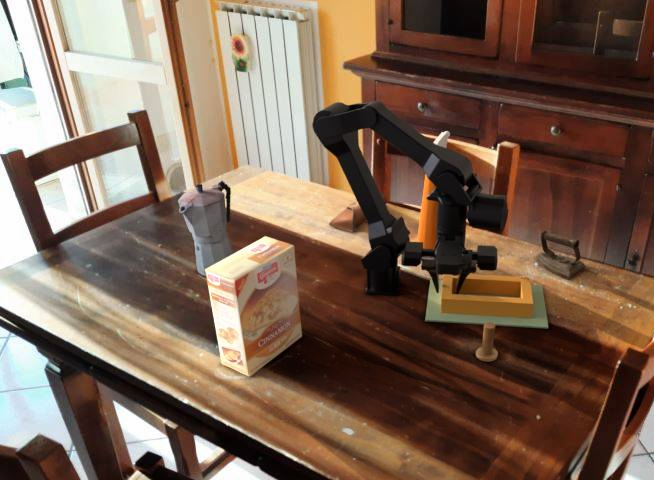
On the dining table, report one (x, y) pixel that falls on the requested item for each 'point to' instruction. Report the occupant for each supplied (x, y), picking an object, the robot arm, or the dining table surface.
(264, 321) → the coffeecake box
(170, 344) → the dining table surface
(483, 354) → the peg stand
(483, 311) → the rectangular frame
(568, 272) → the clothes iron
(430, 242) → the spray bottle
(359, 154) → the robot arm
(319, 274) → the dining table surface
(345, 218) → the sunglasses case
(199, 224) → the moka pot
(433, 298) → the mat
